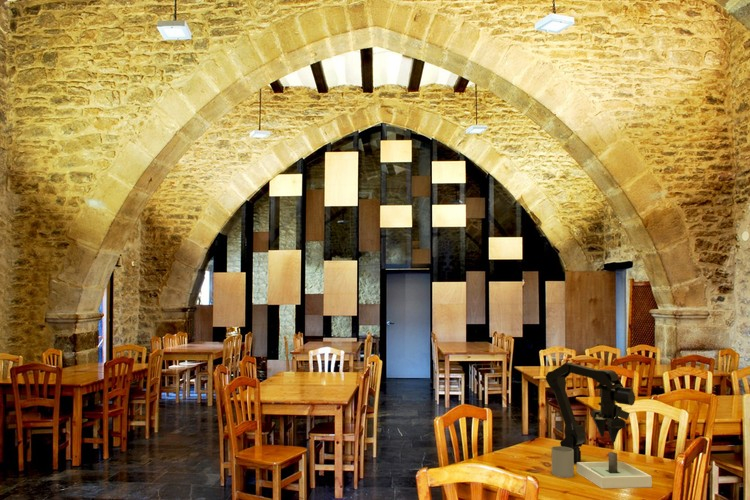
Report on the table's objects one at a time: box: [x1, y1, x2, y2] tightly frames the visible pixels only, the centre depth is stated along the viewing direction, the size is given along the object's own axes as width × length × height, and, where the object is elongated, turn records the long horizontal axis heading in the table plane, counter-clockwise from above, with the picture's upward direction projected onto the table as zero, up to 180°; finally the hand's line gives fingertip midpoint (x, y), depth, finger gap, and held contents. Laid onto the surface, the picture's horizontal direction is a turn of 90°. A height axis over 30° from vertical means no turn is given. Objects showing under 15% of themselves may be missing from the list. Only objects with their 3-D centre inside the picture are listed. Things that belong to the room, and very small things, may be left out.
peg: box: [608, 451, 618, 474], centre depth 233 cm, size 3×3×9 cm
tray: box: [576, 460, 653, 489], centre depth 233 cm, size 20×20×4 cm
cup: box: [551, 445, 575, 479], centre depth 239 cm, size 8×8×10 cm
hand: (607, 439), depth 245 cm, fingers open, 9 cm apart
